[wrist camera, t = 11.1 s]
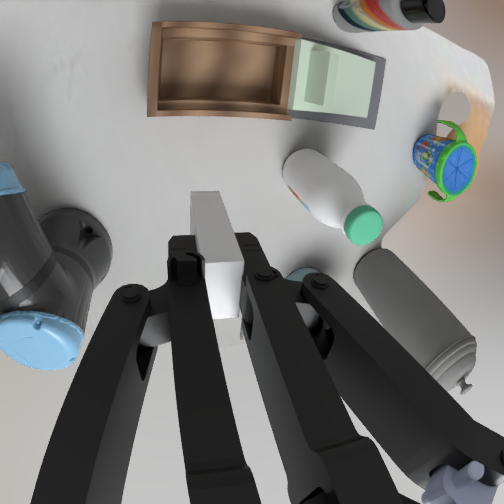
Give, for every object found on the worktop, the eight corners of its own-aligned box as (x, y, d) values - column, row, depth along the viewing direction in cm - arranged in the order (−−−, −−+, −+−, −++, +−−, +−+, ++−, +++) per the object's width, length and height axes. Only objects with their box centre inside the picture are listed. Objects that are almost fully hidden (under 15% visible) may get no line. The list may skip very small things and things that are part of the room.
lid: (287, 108, 38) (311, 115, 35) (295, 39, 33) (321, 39, 30) (361, 116, 46) (384, 123, 43) (369, 61, 41) (394, 65, 38)
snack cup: (434, 188, 58) (465, 209, 50) (398, 187, 56) (431, 210, 48) (448, 118, 49) (484, 133, 41) (411, 110, 47) (450, 123, 39)
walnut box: (151, 109, 39) (147, 116, 33) (156, 29, 33) (152, 22, 27) (275, 112, 44) (291, 120, 38) (283, 37, 37) (301, 33, 31)
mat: (281, 116, 44) (281, 116, 44) (290, 35, 37) (291, 35, 37) (373, 129, 48) (374, 129, 48) (385, 59, 41) (386, 59, 41)
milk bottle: (272, 164, 48) (326, 224, 32) (312, 138, 47) (384, 184, 31) (295, 200, 53) (350, 269, 36) (332, 175, 51) (401, 233, 35)
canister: (387, 286, 71) (470, 398, 42) (342, 293, 68) (424, 424, 40) (403, 241, 64) (507, 354, 36) (356, 245, 61) (463, 380, 33)
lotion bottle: (338, -5, 34) (424, -26, 18) (367, 11, 36) (458, 4, 20) (327, 23, 37) (413, 12, 20) (357, 38, 39) (448, 40, 22)
